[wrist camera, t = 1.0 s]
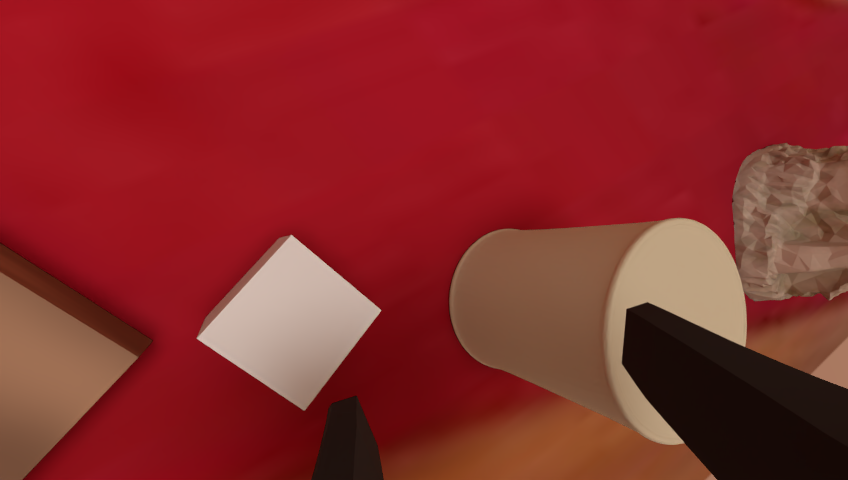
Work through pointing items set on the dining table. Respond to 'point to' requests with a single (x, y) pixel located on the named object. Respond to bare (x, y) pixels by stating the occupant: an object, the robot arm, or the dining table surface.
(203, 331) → the cube
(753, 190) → the ceramic cottage
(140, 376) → the dining table surface
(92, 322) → the plinth
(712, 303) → the can
